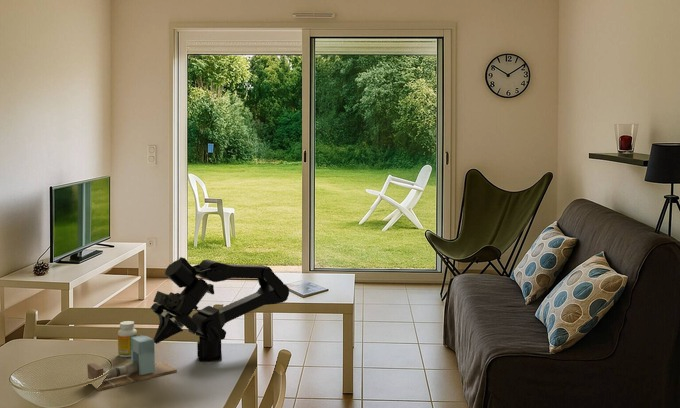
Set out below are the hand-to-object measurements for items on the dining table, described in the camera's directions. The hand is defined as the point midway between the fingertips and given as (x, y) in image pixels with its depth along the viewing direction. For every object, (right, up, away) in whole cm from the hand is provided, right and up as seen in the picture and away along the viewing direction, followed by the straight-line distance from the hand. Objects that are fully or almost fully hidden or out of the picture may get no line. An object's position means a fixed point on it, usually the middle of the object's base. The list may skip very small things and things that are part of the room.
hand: (154, 342), depth 187 cm
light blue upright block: (-3, -8, -1) cm, 9 cm away
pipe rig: (-5, -9, -3) cm, 10 cm away
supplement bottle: (-12, -7, +14) cm, 20 cm away
